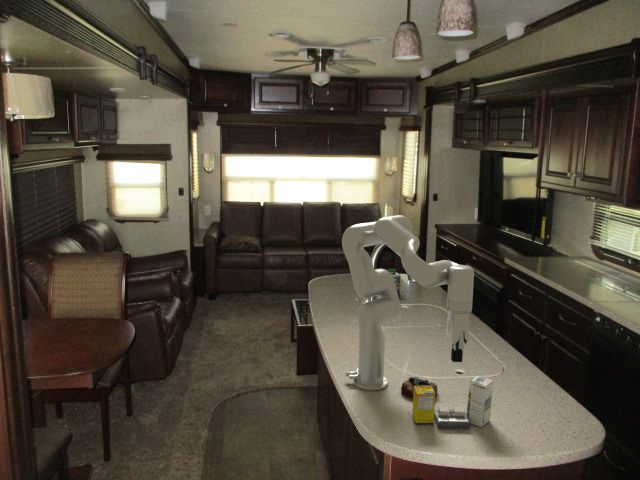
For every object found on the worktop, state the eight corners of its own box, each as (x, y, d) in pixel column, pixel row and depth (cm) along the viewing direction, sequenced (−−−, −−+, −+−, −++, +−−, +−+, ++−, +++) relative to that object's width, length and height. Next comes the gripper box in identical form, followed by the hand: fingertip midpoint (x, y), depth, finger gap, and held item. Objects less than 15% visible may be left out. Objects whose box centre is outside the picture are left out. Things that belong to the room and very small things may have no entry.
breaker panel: (437, 428, 175) (438, 420, 174) (433, 415, 182) (433, 408, 182) (469, 429, 174) (470, 421, 174) (463, 416, 182) (464, 409, 182)
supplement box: (429, 415, 183) (431, 385, 180) (433, 425, 177) (435, 393, 175) (411, 415, 182) (413, 385, 180) (415, 425, 177) (417, 393, 174)
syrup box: (473, 415, 183) (476, 374, 180) (490, 421, 180) (493, 379, 177) (465, 421, 179) (468, 380, 176) (483, 428, 175) (486, 386, 172)
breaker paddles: (438, 415, 178) (439, 411, 177) (437, 410, 179) (438, 406, 178) (464, 415, 178) (465, 411, 177) (463, 411, 179) (464, 407, 178)
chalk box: (396, 291, 323) (398, 266, 320) (400, 295, 314) (401, 270, 311) (381, 291, 322) (382, 266, 319) (384, 295, 313) (385, 270, 310)
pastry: (412, 384, 205) (413, 369, 204) (441, 394, 198) (442, 379, 197) (397, 395, 197) (397, 379, 196) (427, 405, 190) (428, 389, 189)
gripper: (442, 298, 178) (439, 351, 181) (452, 312, 163) (449, 370, 167) (465, 298, 178) (462, 352, 181) (478, 312, 163) (474, 371, 166)
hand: (456, 360), depth 174 cm, fingers closed
